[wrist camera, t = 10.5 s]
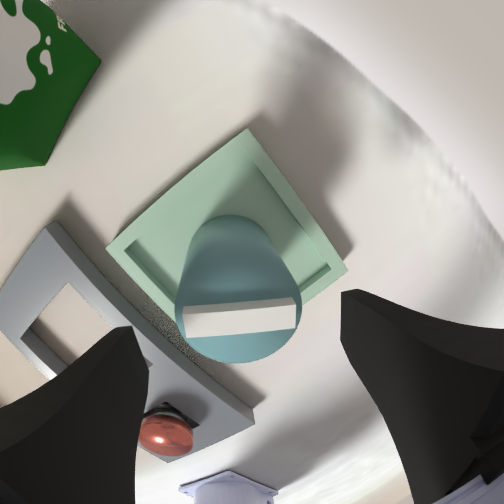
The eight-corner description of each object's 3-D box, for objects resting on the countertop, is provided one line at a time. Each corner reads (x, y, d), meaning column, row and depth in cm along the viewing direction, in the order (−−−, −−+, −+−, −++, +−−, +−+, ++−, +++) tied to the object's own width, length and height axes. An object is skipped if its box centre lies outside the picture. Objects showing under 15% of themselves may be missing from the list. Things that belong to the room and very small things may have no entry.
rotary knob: (271, 211, 17) (308, 252, 10) (273, 290, 18) (303, 364, 12) (183, 218, 16) (162, 264, 10) (193, 297, 18) (184, 376, 11)
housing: (252, 409, 22) (255, 423, 20) (168, 450, 23) (167, 463, 22) (57, 220, 16) (44, 227, 14) (-3, 304, 17) (-14, 313, 15)
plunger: (204, 413, 21) (204, 445, 18) (170, 430, 22) (167, 461, 19) (167, 386, 20) (162, 419, 17) (134, 405, 20) (127, 437, 17)
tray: (341, 263, 19) (348, 270, 17) (218, 351, 20) (219, 362, 19) (245, 129, 15) (247, 128, 14) (111, 242, 16) (105, 248, 15)
